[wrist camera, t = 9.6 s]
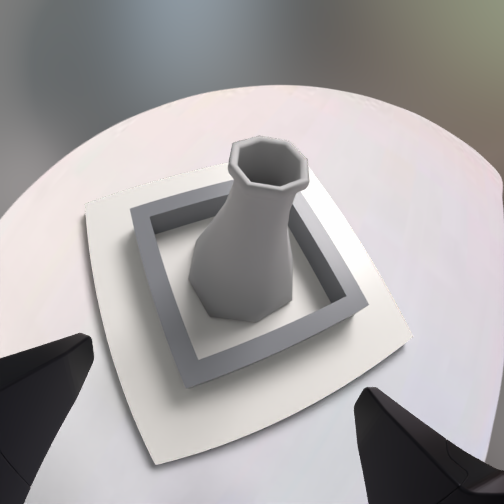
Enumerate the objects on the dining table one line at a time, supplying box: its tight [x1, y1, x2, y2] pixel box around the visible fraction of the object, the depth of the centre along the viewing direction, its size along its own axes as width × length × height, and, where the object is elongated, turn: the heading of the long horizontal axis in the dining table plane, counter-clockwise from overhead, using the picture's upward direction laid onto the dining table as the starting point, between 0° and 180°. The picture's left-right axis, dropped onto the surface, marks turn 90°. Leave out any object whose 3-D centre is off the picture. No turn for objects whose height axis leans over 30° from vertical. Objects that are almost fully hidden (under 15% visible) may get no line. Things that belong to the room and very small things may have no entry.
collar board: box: [85, 162, 413, 465], centre depth 18 cm, size 20×20×3 cm
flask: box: [188, 136, 310, 322], centre depth 14 cm, size 7×7×10 cm
